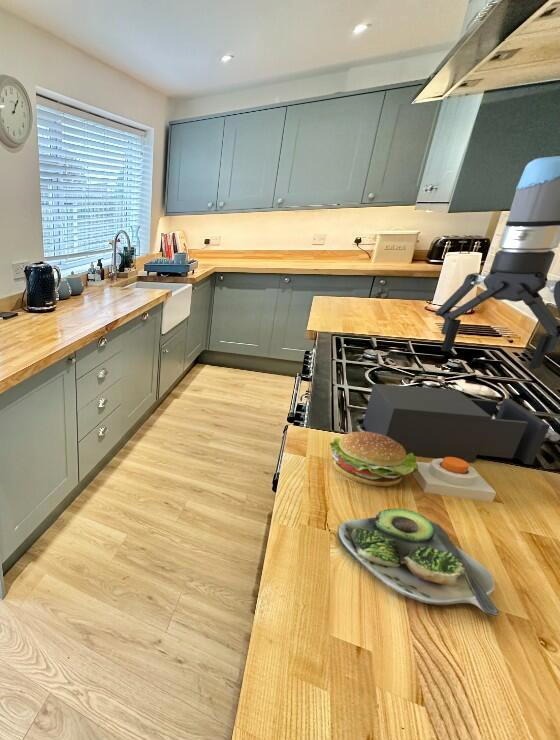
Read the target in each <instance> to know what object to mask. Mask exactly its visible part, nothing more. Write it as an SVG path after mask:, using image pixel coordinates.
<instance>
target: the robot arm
mask: <svg viewBox="0 0 560 740" xmlns="http://www.w3.org/2000/svg"><path fill="white" fill-rule="evenodd" d="M559 245H560V155H557V156H546V157H538V158H535V159H532V160H531V161H530V162H528V163H527V164H526V166H525V167H524V170H523V172H522V175H521V177H520V179H519V182H518V184H517V186H516V188H515V194H514V197H513V200H512V204H511V207H510V210H509V213H508V216H507V220H506V222H505V225H504V227H503V231H502V233H501V236H500V240H499V242H498V246H497V247H498V248H499V249H501V250H498V251H497V252H495V253H494V254H495V255H494V257H493V260H492V263H491V266H490V270H489V273H488V274H487V275H485V274H480V273H479V272H473V273H468V274H467V275H466V276H465V278H464V281H463V283H462V285H460V286H459V288H458V289H457V290H456V291H455V292H453V294H451V296H450V297H449V298H448V299H446V301H445V302H444V303H443V304H442V305H441V306H440V307H439V308H437V310H436V311H435V312H434V315H435V316H437V317H440V318H443V320H444V321H443V324H442V328H441V330H440V331H441V332H440V333H441V335H445V336H444V338H443V339H444V340H443V342H442V346H441V349H440V351H441V352H448V351H450V350H453V348H454V344H455V341H456V338H457V335H458V331H459V329H460V326H461V323H462V319H458V318H459V317H461V316H462V315H464V314H466V313H468V312H469V311H471V310H472V309H474V308H476V307H477V306H479V305H481V304H482V303H484V302H486V301H488V300H489V299H491V298H493V299H494V300H497V301H505V300H506V301H509V302H513V303H517V302H523V303H524V304H525V306H527V307H528V308H529V310H530V311H531V312H532V313H533V315H534V317H536V319H537V320H538V322H539V323H540V325H541V326H542V327H543V329H544V330H545V331H546V333H544V334H542V335H540V338H539V340H538V343H537V345H536V348H535V350H534V353H533V355H532V358H531V360H530V363H529V365H528V369H529V370H536V369H539V368H540V367H541V366H542V365H543V362H544V360H545V358H546V354H551V353H554V352H556V350H557V348H558V345H559V343H560V322H559V320H558V319H557V318H556V316H555V315H554V314H553V312H552V311H551V310H550V307H548V306H547V304H546V303H545V302H544V298H543V296H542V295H541V294H540V291H542V290H543V289H545V288H548V291H549V292H550V293H553V299H554V302H555V306H556V309H557V313H558V317H560V280H559V279H555V280H554V279H553V280H549V279H548V275H549V271H550V269H551V266H552V264H553V261H554V258H555V256H556V252H555V251H554V250H553V249H557V248H559ZM482 282H483V284H484V286H485V287H486V289H485V290H483V291H482V292H480V293H479V294H478V295H476V296H475V297H473V298H472V299H470V300H469V301H467V302H465V303H464V304H462V305H460V306H459V307H457V308H455V309H454V307H456V306H457V305H458V303H459V302H461V301H462V300H463V299H464V297H466V296H467V295H468V294H469V293H470V292H471V291H472V289H474V288H475V287H476V286H478V285H481V283H482ZM452 309H454V310H452ZM451 310H452V311H451Z"/></svg>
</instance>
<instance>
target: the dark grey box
mask: <svg viewBox="0 0 560 740" xmlns="http://www.w3.org/2000/svg"><path fill="white" fill-rule="evenodd" d="M468 398H469V397H467V396H466V395H465V394H463V393H462V392H461V391H459V390H458V389H451V388H440V387H439V388H438V387H437V388H436V387H423V386H411V385H410V386H409V385H398V384H397V385H396V384H381V383H373V384H372V386H371V391H370V395H369V399H368V401H367V405H366V410H365V414H364V418H363V422H362V426H363V427H364V429H365V430H366V432H372V433H377V434H381V435H384V436H386V437H389V438H391V439H393V440H394V441H396V442H397V443H399V444H400V445H402V446H403V448H404V449H405V451H406V455H408V454H410V453H413V455H414V457H415V458H425V459H432V460H433V459H439V458H442V459H444V458H445V457H455V458H459V459H462V460H464V461H466V462H467V463H468V464H474V463H475V461H476V458H477V456H478V455H477V453H478V451H479V448H480V446H481V443H482V441H483V438H484V436H485V433H486V430H487V428H488V425H489V423H490V420H491V418H492V419H493V417H491V416H490V415H489V414H487V413H486V412H485V411H484V410H482V409H481V408H480V407H478V406H477V405H476V404H475V403H473V402H472V401H471V400H470V399H471V398H470V399H468Z"/></svg>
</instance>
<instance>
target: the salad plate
mask: <svg viewBox="0 0 560 740" xmlns="http://www.w3.org/2000/svg"><path fill="white" fill-rule="evenodd" d="M337 538H338V540H339V543H340V544H341V546H342V547H343V548H344V550H345V551H346V552H347V553H348V555H350V556H351V557H352V558H353V559H355V560H357V561H358V562H359V563H360V564H361V565H362V566H363V567H364V568H365V569H366V570H368V572H369V573H371V574H372V575H373V576H374V577H377V579H378V580H380V581H382V582H383V583H384V584H385V585H386V586H388V587H389V588H391V590H393V591H395V592H397V593H399V594H401V595H403V596H405V597H407V598H410V599H412V600H415V601H417V602H420V603H424V604H426V605H432V606H439V607H441V606H448V605H449V606H450V605H455V604H471V605H474V606H476V607H477V608H479V609H480V610H481V611H482V612H484V613H486V614H487V615H491V616H495V617H498V616H499V614H500V612H499V610H498V608H497V607H496V605H495V604H494V602H493V601H492V600H491V597H489V596H490V595H491V594H492V593H493V592H494V591H495V580H494V577H493V575H492V573H491V571H489V570H488V569H487V568H486V567H485V566H484V565H483V564H481V563H480V562H479V561H477V560H476V559H475V558H473V557H472V556H470V555H468V554H467V553H466V552H465V551H463V550H462V549H460V548H459V547H458V546H456V545H455V544H454V543H453V542H452V540H451V539H450V535H448V533H447V532H446V530H445V529H443V527H441V526H440V524H438V523H436V522H434V521H432V520H429V519H428V518H427V517H426V516H424V515H422V514H420V513H418V512H416V511H413V510H410V509H409V510H408V509H406V508H405V509H404V508H388V509H384V510H380V511H379V512H378V513H377V514H375V517H368V518H359V519H349V520H345V521H343V522H341V523H340V524H339V526H338V527H337ZM433 604H434V605H433Z"/></svg>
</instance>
